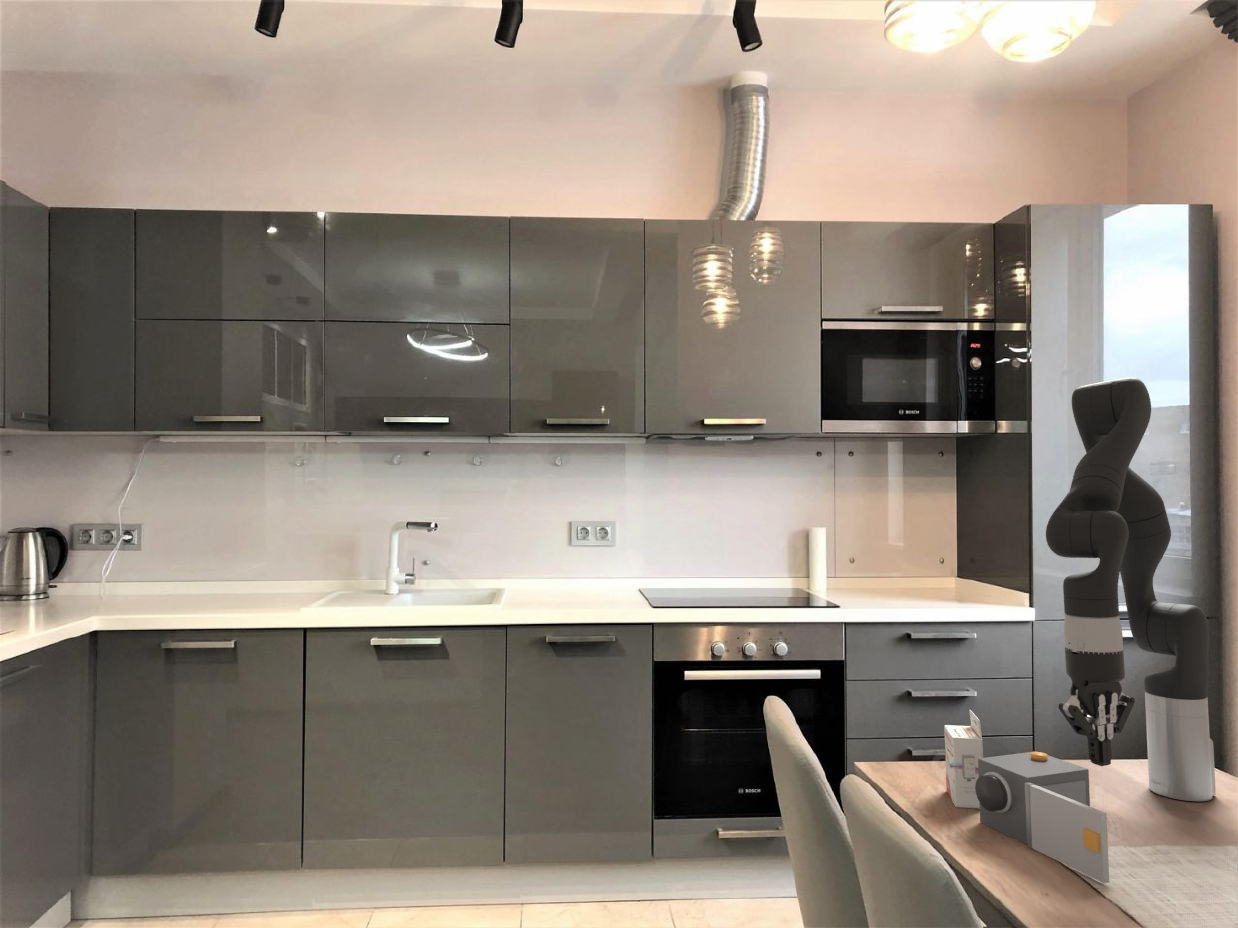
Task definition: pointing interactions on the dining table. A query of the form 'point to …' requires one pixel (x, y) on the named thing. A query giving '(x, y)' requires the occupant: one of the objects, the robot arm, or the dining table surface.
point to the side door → (1067, 831)
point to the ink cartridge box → (963, 762)
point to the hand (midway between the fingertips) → (1100, 763)
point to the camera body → (1006, 787)
